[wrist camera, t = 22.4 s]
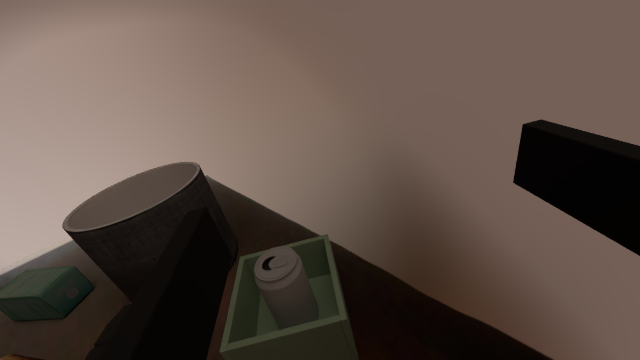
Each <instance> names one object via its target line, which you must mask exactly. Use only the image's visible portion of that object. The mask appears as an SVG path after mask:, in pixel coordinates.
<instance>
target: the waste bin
mask: <svg viewBox="0 0 640 360" xmlns="http://www.w3.org/2000/svg"><path fill="white" fill-rule="evenodd" d="M284 246H285V247H290V248H292V249H293V250H294V251H295V253H296V254H298V255H299V256H300V258H301V260H302V263H303V266H304V269H305V272H306V274H307V277H308V280H309V283H310V286H311V288H312V291H313V294H314V297H315V300H316V302H317V305H318V310H319V313H318V318H317V320H316V321H312V322H308V323H305V324H301V325H297V326H293V327H289V328H286V329H282V330H280V329H279V327H278V325H277V323H276V322H275V320H274V318H273V316H272V314H271V312H270V310H269V308H268V306H267V304H266V302H265V300H264V298H263V296H262V294H261V292H260V290H259V288H258V286H257V284H256V282H255V272H254V267H255V264H256V262H257V260H258V259H259V257H260V256H261V255H263V254H264V253H265V252H266V251H268V250H265V251H261V252H257V253H254V254H250V255H246V256H242V257H240V260H239V265H238V269H237V274H236V279H235V283H234V288H233V292H232V297H231V302H230V306H229V311H228V316H227V320H226V325H225V329H224V334H223V339H222V343H221V348H220V354H221V355H222V357H223V358H224V359H225V360H359V358H358V354H357V350H356V346H355V341H354V337H353V333H352V329H351V325H350V320H349V316H348V312H347V308H346V304H345V300H344V295H343V291H342V287H341V283H340V279H339V274H338V271H337V267H336V263H335V260H334V256H333V252H332V249H331V245H330V241H329V237H328V235H322V236H319V237H315V238H311V239H307V240H303V241H299V242H296V243H292V244H288V245H284ZM269 250H270V249H269Z"/></svg>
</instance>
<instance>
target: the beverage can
mask: <svg viewBox="0 0 640 360" xmlns="http://www.w3.org/2000/svg"><path fill="white" fill-rule="evenodd" d="M254 272H255V282H256V284H257V286H258V288H259V290H260V292H261V294H262V296H263V298H264V300H265V302H266V304H267V306H268V308H269V310H270V312H271V314H272V316H273V318H274V320H275V322H276V323H277V325H278V327H279V329H280V330H282V329H286V328H289V327H293V326H297V325H301V324H305V323H308V322H312V321H316V320H317V318H318V313H319V310H318V305H317V302H316V300H315V297H314V294H313V291H312V288H311V286H310V283H309V280H308V277H307V274H306V272H305V269H304V266H303V263H302V260H301V258H300V256H299V255H298V254H296V253H295V251H294V250H293V249H292V248H290V247H285V246H280V247H275V248H272V249H270V250H268V251H266V252H265V253H264V254H263V255H261V256H260V257H259V259H258V260H257V262H256V264H255V267H254Z"/></svg>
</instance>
